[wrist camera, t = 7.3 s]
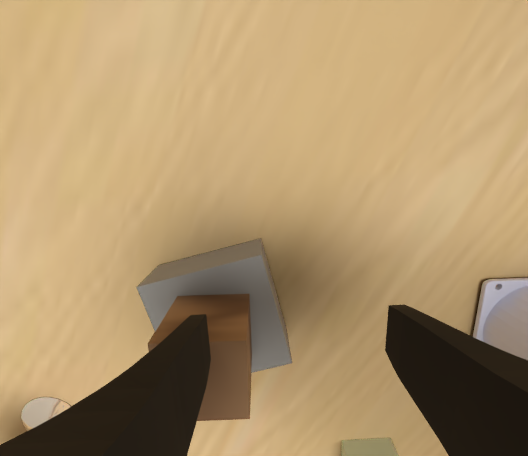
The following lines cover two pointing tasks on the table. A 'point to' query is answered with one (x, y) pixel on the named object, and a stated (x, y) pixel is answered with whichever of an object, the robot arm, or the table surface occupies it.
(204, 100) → the table surface
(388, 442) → the sage-green block
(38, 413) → the wineglass
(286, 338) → the grey square block
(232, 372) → the walnut block
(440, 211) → the table surface
